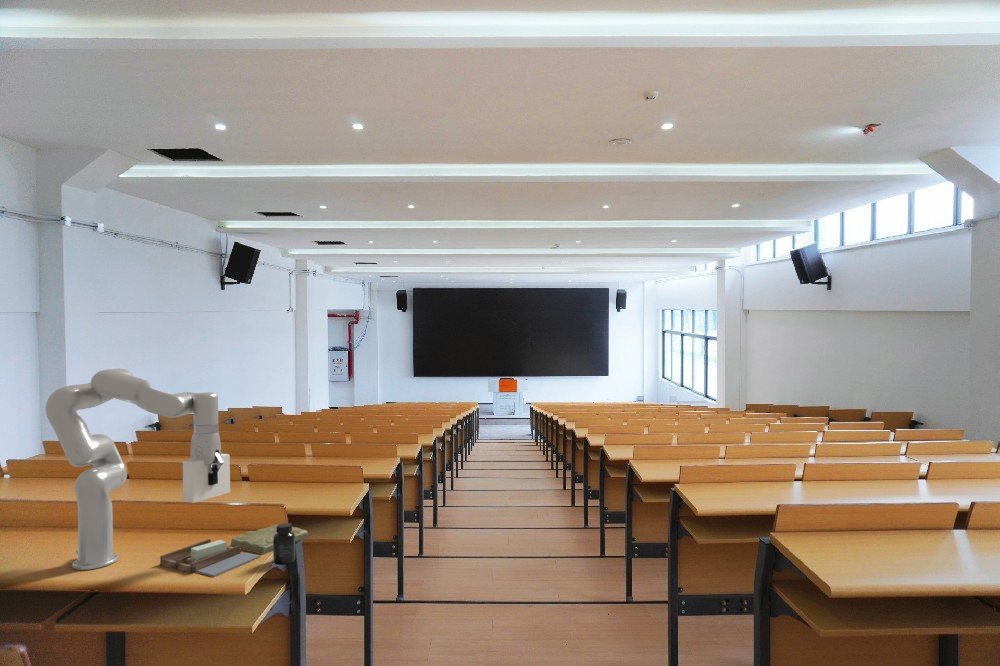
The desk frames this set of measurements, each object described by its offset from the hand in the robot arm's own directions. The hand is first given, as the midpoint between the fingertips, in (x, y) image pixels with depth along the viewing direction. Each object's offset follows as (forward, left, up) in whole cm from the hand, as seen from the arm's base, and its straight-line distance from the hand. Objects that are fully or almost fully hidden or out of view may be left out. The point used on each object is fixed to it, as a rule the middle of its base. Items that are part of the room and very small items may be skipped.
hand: (207, 483), depth 197 cm
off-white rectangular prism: (0, 0, -5) cm, 5 cm away
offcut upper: (+2, -1, -23) cm, 23 cm away
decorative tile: (+4, +22, -27) cm, 35 cm away
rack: (-2, -1, -26) cm, 26 cm away
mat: (+10, 0, -26) cm, 28 cm away
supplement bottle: (+24, +10, -26) cm, 37 cm away
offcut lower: (+1, -1, -26) cm, 26 cm away
